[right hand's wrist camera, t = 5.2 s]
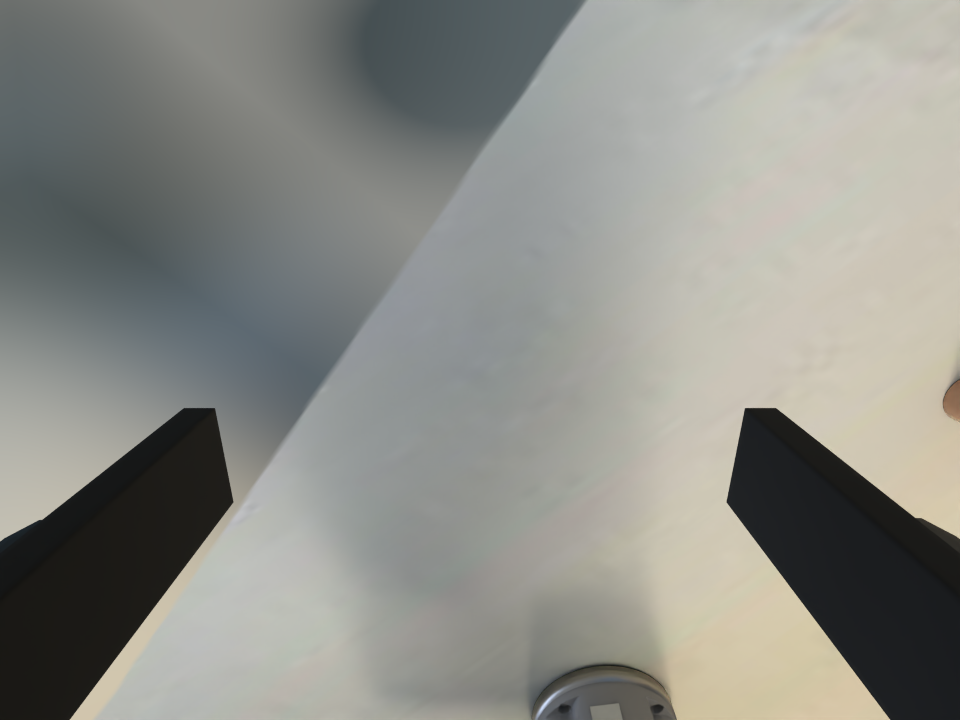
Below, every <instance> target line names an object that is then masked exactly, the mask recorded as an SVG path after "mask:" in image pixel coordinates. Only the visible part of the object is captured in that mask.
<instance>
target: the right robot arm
mask: <svg viewBox="0 0 960 720" xmlns="http://www.w3.org/2000/svg"><path fill="white" fill-rule="evenodd" d="M232 503H233V498H232V492H231V487H230V483H229V477H228V472H227V467H226V462H225V457H224V452H223V447H222V442H221V437H220V432H219V427H218V421H217V416H216V411H215V408H184V409H182V410H181V411H180V412H179V413H177V414H176V415H175V416H174V417H172V418H171V419H170V420H168V421H167V422H166V423H165V424H163V425H162V426H161V427H160V428H158V429H157V430H156V431H154V432H153V433H152V434H151V435H149V436H148V437H147V438H146V439H144V440H143V441H142V442H141V443H139V444H138V445H137V446H135V447H134V448H133V449H132V450H130V451H129V452H128V453H127V454H125V455H124V456H123V457H122V458H120V459H119V460H118V461H116V462H115V463H114V464H113V465H111V466H110V467H109V468H108V469H106V470H105V471H104V472H102V473H101V474H100V475H99V476H97V477H96V478H95V479H94V480H92V481H91V482H90V483H89V484H87V485H86V486H85V487H83V488H82V489H81V490H80V491H78V492H77V493H76V494H75V495H73V496H72V497H71V498H70V499H68V500H67V501H66V502H65V503H63V504H62V505H61V506H59V507H58V508H57V509H56V510H54V511H53V512H52V513H51V514H49V515H48V516H47V517H45V518H44V519H43V520H39V521H37V522H35V523H33V524H31V525H29V526H27V527H25V528H23V529H21V530H19V531H18V532H16V533H14V534H12V535H10V536H8V537H6V538H4V539H3V540H2V541H0V720H70V719H71V717H72V716H73V715H74V713H75V712H76V711H77V709H78V708H79V707H80V705H81V704H82V703H83V701H84V700H85V699H86V697H87V696H88V695H89V693H90V692H91V691H92V689H93V688H94V687H95V685H96V684H97V683H98V681H99V680H100V679H101V677H102V676H103V675H104V673H105V672H106V671H107V669H108V668H109V667H110V665H111V664H112V663H113V661H114V660H115V659H116V657H117V656H118V655H119V653H120V652H121V651H122V649H123V648H124V647H125V645H126V644H127V643H128V641H129V640H130V639H131V638H132V636H133V635H134V633H135V632H136V631H137V630H138V628H139V627H140V626H141V624H142V623H143V622H144V620H145V619H146V618H147V616H148V615H149V614H150V612H151V611H152V610H153V608H154V607H155V606H156V604H157V603H158V602H159V600H160V599H161V598H162V596H163V595H164V594H165V592H166V591H167V590H168V588H169V587H170V586H171V584H172V583H173V582H174V580H175V579H176V578H177V576H178V575H179V574H180V572H181V571H182V570H183V568H184V567H185V566H186V564H187V563H188V562H189V561H190V559H191V558H192V557H193V555H194V554H195V553H196V551H197V550H198V549H199V547H200V546H201V545H202V543H203V542H204V541H205V539H206V538H207V537H208V535H209V534H210V533H211V531H212V530H213V529H214V527H215V526H216V525H217V523H218V522H219V521H220V519H221V518H222V517H223V515H224V514H225V513H226V511H227V510H228V509H229V507H230V506H231V505H232ZM727 503H728V505H729V506H730V507H731V509H732V510H733V511H734V513H735V514H736V515H737V517H738V518H739V519H740V521H741V522H742V523H743V525H744V526H745V527H746V529H747V530H748V531H749V533H750V534H751V535H752V537H753V538H754V539H755V541H756V542H757V543H758V545H759V546H760V547H761V549H762V550H763V551H764V553H765V554H766V555H767V557H768V558H769V559H770V561H771V562H772V563H773V564H774V566H775V567H776V568H777V570H778V571H779V572H780V574H781V575H782V576H783V578H784V579H785V580H786V582H787V583H788V584H789V586H790V587H791V588H792V590H793V591H794V592H795V594H796V595H797V596H798V598H799V599H800V600H801V602H802V603H803V604H804V606H805V607H806V608H807V610H808V611H809V612H810V614H811V615H812V616H813V618H814V619H815V620H816V622H817V623H818V624H819V626H820V627H821V628H822V630H823V631H824V632H825V634H826V635H827V636H828V638H829V639H830V640H831V642H832V643H833V644H834V646H835V647H836V648H837V650H838V651H839V652H840V653H841V655H842V656H843V657H844V659H845V660H846V661H847V663H848V664H849V665H850V667H851V668H852V669H853V671H854V672H855V673H856V675H857V676H858V677H859V679H860V680H861V681H862V683H863V684H864V685H865V687H866V688H867V689H868V691H869V692H870V693H871V695H872V696H873V697H874V699H875V700H876V701H877V703H878V704H879V705H880V707H881V708H882V709H883V711H884V712H885V713H886V715H887V716H888V717H889V719H890V720H960V539H959V538H957V537H956V536H954V535H952V534H950V533H949V532H947V531H945V530H943V529H941V528H939V527H937V526H935V525H933V524H931V523H929V522H928V521H926V520H924V519H922V518H915V517H913V516H912V515H911V514H909V513H908V512H907V511H906V510H904V509H903V508H902V507H901V506H899V505H898V504H897V503H896V502H894V501H893V500H892V499H890V498H889V497H888V496H887V495H885V494H884V493H883V492H882V491H880V490H879V489H878V488H877V487H875V486H874V485H873V484H871V483H870V482H869V481H868V480H866V479H865V478H864V477H863V476H861V475H860V474H859V473H858V472H856V471H855V470H854V469H852V468H851V467H850V466H849V465H847V464H846V463H845V462H844V461H842V460H841V459H840V458H838V457H837V456H836V455H835V454H833V453H832V452H831V451H830V450H828V449H827V448H826V447H825V446H823V445H822V444H821V443H819V442H818V441H817V440H816V439H814V438H813V437H812V436H811V435H809V434H808V433H807V432H806V431H804V430H803V429H802V428H800V427H799V426H798V425H797V424H795V423H794V422H793V421H792V420H790V419H789V418H788V417H787V416H785V415H784V414H783V413H781V412H780V411H779V410H778V409H776V408H745V411H744V416H743V421H742V426H741V432H740V437H739V442H738V447H737V452H736V457H735V462H734V467H733V472H732V477H731V482H730V487H729V492H728V498H727ZM532 720H677V719H676V716H675V713H674V710H673V707H672V704H671V702H670V699H669V697H668V694H667V693H666V691H665V690H664V688H663V687H662V686H661V685H660V684H659V683H658V682H657V681H656V680H654V679H653V678H651V677H650V676H648V675H646V674H644V673H642V672H639V671H637V670H634V669H630V668H625V667H619V666H596V667H589V668H585V669H581V670H577V671H574V672H572V673H569V674H567V675H565V676H563V677H561V678H559V679H558V680H556V681H555V682H553V683H552V684H551V685H549V686H548V687H547V688H546V689H545V690H544V691H543V692H542V693H541V695H540V696H539V698H538V699H537V701H536V703H535V706H534V709H533V713H532Z"/></svg>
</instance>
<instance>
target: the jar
mask: <svg viewBox="0 0 960 720" xmlns="http://www.w3.org/2000/svg"><path fill="white" fill-rule="evenodd" d="M943 407H944V411H945V413H946V414H947V415H948V416H949V417H950V418H952V419H954V420H956V421H958V422H960V380H958V381H957V382H955V383H954V384H953V385H952V386H951V387H950V388H949V390H948V391H947V393H946V395H945V397H944V401H943Z"/></svg>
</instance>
